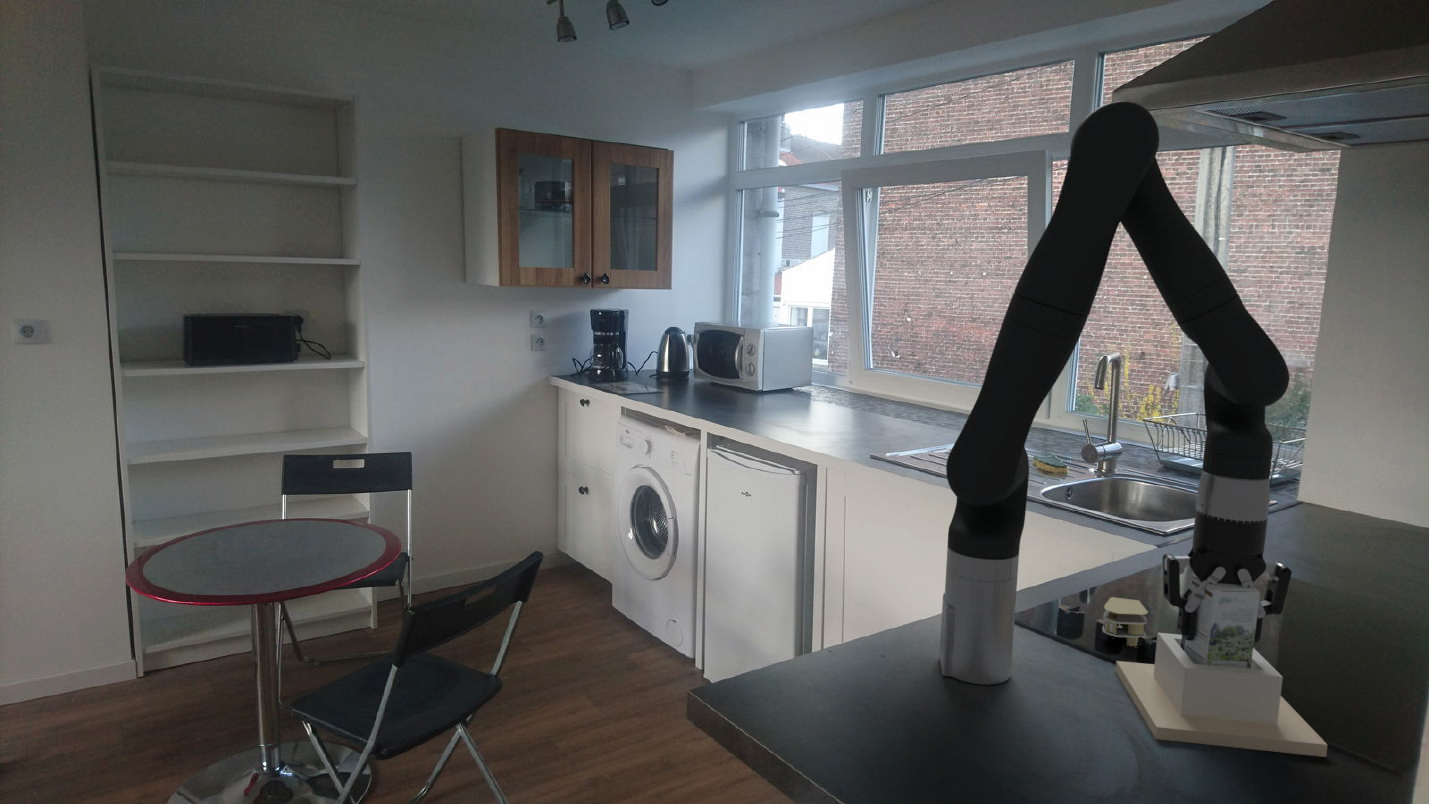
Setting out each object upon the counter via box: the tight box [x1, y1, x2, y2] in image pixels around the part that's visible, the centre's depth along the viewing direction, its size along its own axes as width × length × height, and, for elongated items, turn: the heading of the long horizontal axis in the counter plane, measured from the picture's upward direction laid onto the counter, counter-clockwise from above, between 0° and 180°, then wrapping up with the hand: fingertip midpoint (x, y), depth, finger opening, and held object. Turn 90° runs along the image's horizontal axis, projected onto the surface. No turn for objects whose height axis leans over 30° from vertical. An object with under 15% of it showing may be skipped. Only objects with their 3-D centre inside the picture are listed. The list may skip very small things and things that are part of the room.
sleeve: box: [1115, 632, 1329, 758], centre depth 108 cm, size 18×18×8 cm
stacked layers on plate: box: [1101, 596, 1149, 648], centre depth 129 cm, size 10×9×6 cm
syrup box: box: [1181, 573, 1261, 669], centre depth 107 cm, size 6×6×14 cm
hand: (1217, 640), depth 107 cm, fingers closed on syrup box, 6 cm apart
